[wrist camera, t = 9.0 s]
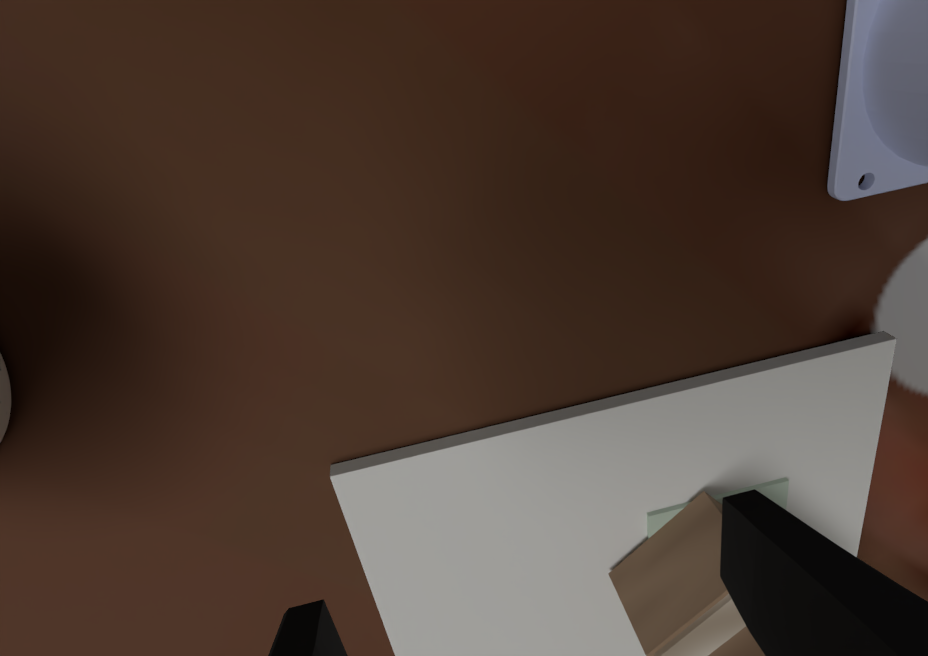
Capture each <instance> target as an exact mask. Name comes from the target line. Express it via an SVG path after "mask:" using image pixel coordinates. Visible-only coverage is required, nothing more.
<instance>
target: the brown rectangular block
mask: <svg viewBox="0 0 928 656" xmlns="http://www.w3.org/2000/svg"><path fill="white" fill-rule="evenodd" d="M721 529H722V504H721V503H719V502H718V501H717V500H715V499H714V498H713V497H711V496H710V495H709V494H707V493H706V492H705V491H703V492H702V493H701V494H700V495H698V496H697V497H696V498H695V499H694V500H693V501H692V502H690V503H689V504H688V505H687V506H686V507H685V508H683V509H682V510H681V511H680V512H679V513H678V514H677V515H675V516H674V517H673V518H672V519H671V520H670V521H668V522H667V523H666V524H665V525H664V526H663V527H662V528H660V529H659V530H658V531H657V532H656V533H655V534H653V535H652V536H651V537H650V538H649V539H648V540H647V541H645V542H644V543H643V544H642V545H641V546H640V547H638V548H637V549H636V550H635V551H634V552H633V553H632V554H630V555H629V556H628V557H627V558H626V559H625V560H623V561H622V562H621V563H620V564H619V565H618V566H617V567H615V568H614V569H613V570H612V571H611V572H610V573H608V574H609V577H610V579H611V581H612V583H613V585H614V587H615V590H616V592H617V594H618V596H619V598H620V600H621V603H622V605H623V607H624V609H625V611H626V613H627V616H628V618H629V620H630V622H631V624H632V627H633V629H634V631H635V633H636V635H637V637H638V640H639V642H640V644H641V646H642V648H643V650H644V653H645V655H646V656H765V654H764V653H763V651H762V650H761V648H760V647H759V645H758V644H757V642H756V641H755V639H754V638H753V636H752V635H751V633H750V632H749V630H748V628H747V626H746V624H745V623H744V621H743V619H742V617H741V615H740V613H739V612H738V610H737V608H736V606H735V604H734V602H733V600H732V598H731V596H730V595H729V593H728V591H727V589H726V587H725V585H724V583H723V581H722V579H721V577H720V559H721Z"/></svg>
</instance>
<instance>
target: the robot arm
mask: <svg viewBox="0 0 928 656" xmlns="http://www.w3.org/2000/svg"><path fill="white" fill-rule="evenodd" d="M864 174H865V178H864V181H863V182H862V183H861V184H860V185H859V186H858V182H859V180H860V178H861V177H862V176H863V175H864ZM924 183H928V0H847V7H846V16H845V25H844V35H843V44H842V53H841V63H840V72H839V81H838V91H837V100H836V109H835V118H834V128H833V137H832V146H831V156H830V165H829V174H828V184H827V189H828V193H829V195H830V196H831V197H833V198H835V199H838V200H841V201H849V200H853V199H858V198H862V197H867V196H871V195H875V194H880V193H884V192H888V191H893V190H897V189H902V188H906V187H910V186H915V185H919V184H924ZM720 577H721V579H722V581H723V583H724V585H725V587H726V589H727V591H728V593H729V595H730V596H731V598H732V600H733V602H734V604H735V606H736V608H737V610H738V612H739V613H740V615H741V617H742V619H743V621H744V623H745V624H746V626H747V628H748V630H749V632H750V633H751V635H752V636H753V638H754V639H755V641H756V642H757V644H758V645H759V647H760V648H761V650H762V651H763V653H764V654H765V656H928V602H927V601H926V600H924V599H922V598H920V597H919V596H917V595H916V594H914V593H912V592H911V591H909V590H907V589H906V588H904V587H902V586H901V585H899V584H898V583H896V582H894V581H893V580H891V579H890V578H888V577H887V576H885V575H883V574H882V573H880V572H879V571H877V570H876V569H874V568H872V567H871V566H869V565H868V564H866V563H865V562H863V561H861V560H860V559H858V558H857V557H855V556H854V555H852V554H851V553H849V552H848V551H846V550H845V549H843V548H841V547H840V546H838V545H837V544H835V543H834V542H832V541H831V540H829V539H828V538H827V537H825V536H824V535H822V534H821V533H819V532H818V531H816V530H815V529H813V528H812V527H810V526H809V525H807V524H806V523H804V522H803V521H801V520H800V519H798V518H797V517H795V516H794V515H793V514H791V513H790V512H788V511H787V510H785V509H784V508H782V507H781V506H779V505H778V504H776V503H775V502H773V501H772V500H770V499H769V498H767V497H766V496H764V495H763V494H761V493H760V492H758V491H757V490H755V489H754V490H750V491H746V492H742V493H738V494H734V495H730V496H726V497H723V500H722V529H721V559H720ZM268 656H347V654H346V651H345V649H344V646H343V644H342V642H341V639H340V637H339V635H338V632H337V630H336V628H335V625H334V623H333V621H332V618H331V616H330V613H329V611H328V609H327V606H326V604H325V602H324V600H320V601H316V602H312V603H308V604H304V605H300V606H296V607H292V608H289V609H288V610H287V611H286V613H285V614H284V616H283V619H282V621H281V624H280V627H279V629H278V632H277V635H276V637H275V640H274V642H273V645H272V648H271V650H270V653H269V655H268Z"/></svg>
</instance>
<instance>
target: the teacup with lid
mask: <svg viewBox="0 0 928 656" xmlns="http://www.w3.org/2000/svg"><path fill="white" fill-rule="evenodd" d="M10 411H11V387H10V380H9V376H8V372H7V369H6V365H5V363H4V360H3V358H2V355H1V353H0V443H1V441H2V439H3V436H4V434H5V432H6V429H7V426H8V422H9V419H10Z"/></svg>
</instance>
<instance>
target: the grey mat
mask: <svg viewBox="0 0 928 656" xmlns="http://www.w3.org/2000/svg"><path fill="white" fill-rule="evenodd" d="M896 340H897V339H896V338H895V337H893V336H891V335H889V334H888V333H886V332H884V331H882V332H878V333H874V334H869V335H865V336H861V337H857V338H853V339H849V340H845V341H841V342H836V343H832V344H828V345H824V346H820V347H816V348H812V349H808V350H803V351H799V352H795V353H791V354H787V355H783V356H779V357H774V358H770V359H766V360H762V361H758V362H754V363H750V364H746V365H741V366H737V367H733V368H729V369H725V370H721V371H717V372H713V373H708V374H704V375H700V376H696V377H692V378H688V379H684V380H680V381H675V382H671V383H667V384H663V385H659V386H655V387H651V388H647V389H642V390H638V391H634V392H630V393H626V394H622V395H618V396H614V397H609V398H605V399H601V400H597V401H593V402H589V403H585V404H581V405H576V406H572V407H568V408H564V409H560V410H556V411H552V412H548V413H543V414H539V415H535V416H531V417H527V418H523V419H519V420H514V421H510V422H506V423H502V424H498V425H494V426H490V427H486V428H481V429H477V430H473V431H469V432H465V433H461V434H457V435H453V436H448V437H444V438H440V439H436V440H432V441H428V442H424V443H420V444H415V445H411V446H407V447H403V448H399V449H395V450H391V451H387V452H382V453H378V454H374V455H370V456H366V457H362V458H358V459H354V460H349V461H345V462H341V463H337V464H333V465H331V468H330V478H331V481H332V484H333V486H334V489H335V492H336V495H337V497H338V500H339V503H340V506H341V508H342V511H343V514H344V517H345V519H346V522H347V525H348V528H349V530H350V533H351V536H352V539H353V541H354V544H355V547H356V550H357V552H358V555H359V558H360V561H361V563H362V566H363V569H364V572H365V574H366V577H367V580H368V583H369V585H370V588H371V591H372V594H373V596H374V599H375V602H376V604H377V607H378V610H379V613H380V615H381V618H382V621H383V624H384V626H385V629H386V632H387V635H388V637H389V640H390V643H391V646H392V648H393V651H394V654H395V656H646V655H645V653H644V650H643V648H642V646H641V644H640V642H639V640H638V637H637V635H636V633H635V631H634V629H633V627H632V624H631V622H630V620H629V618H628V616H627V613H626V611H625V609H624V607H623V605H622V603H621V600H620V598H619V596H618V594H617V592H616V590H615V587H614V585H613V583H612V581H611V579H610V577H609V574H608V573H610V572H611V571H612V570H613V569H614V568H615V567H617V566H618V565H619V564H620V563H621V562H622V561H623V560H625V559H626V558H627V557H628V556H629V555H630V554H632V553H633V552H634V551H635V550H636V549H637V548H638V547H640V546H641V545H642V544H643V543H644V542H645V541H647V540H648V539H649V538H650V537H651V536H652V535H653V534H655V533H656V532H657V531H658V530H659V529H660V528H662V527H663V526H664V525H665V524H666V523H667V522H668V521H670V520H671V519H672V518H673V517H674V516H675V515H677V514H678V513H679V512H680V511H681V510H682V509H683V508H685V507H686V506H687V505H688V504H689V503H690V502H692V501H693V500H694V499H695V498H696V497H697V496H698V495H700V494H701V493H702V492H703V491H705V492H706V493H707V494H709V495H710V496H711V497H713V498H714V499H715V500H717V501H718V502H719V503H721V504H722V500H723V497H726V496H730V495H734V494H738V493H742V492H746V491H750V490H754V489H755V490H757V491H758V492H760V493H761V494H763V495H764V496H766V497H767V498H769V499H770V500H772V501H773V502H775V503H776V504H778V505H779V506H781V507H782V508H784V509H785V510H787V511H788V512H790V513H791V514H793V515H794V516H795V517H797V518H798V519H800V520H801V521H803V522H804V523H806V524H807V525H809V526H810V527H812V528H813V529H815V530H816V531H818V532H819V533H821V534H822V535H824V536H825V537H827V538H828V539H829V540H831V541H832V542H834V543H835V544H837V545H838V546H840V547H841V548H843V549H845V550H846V551H848V552H849V553H851V554H852V555H854V556H855V557H857V553H858V547H859V542H860V536H861V531H862V525H863V520H864V515H865V509H866V504H867V498H868V493H869V487H870V482H871V476H872V471H873V466H874V460H875V455H876V449H877V444H878V438H879V433H880V427H881V422H882V417H883V411H884V406H885V400H886V395H887V389H888V384H889V379H890V373H891V368H892V361H893V356H894V351H895V346H896Z"/></svg>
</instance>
